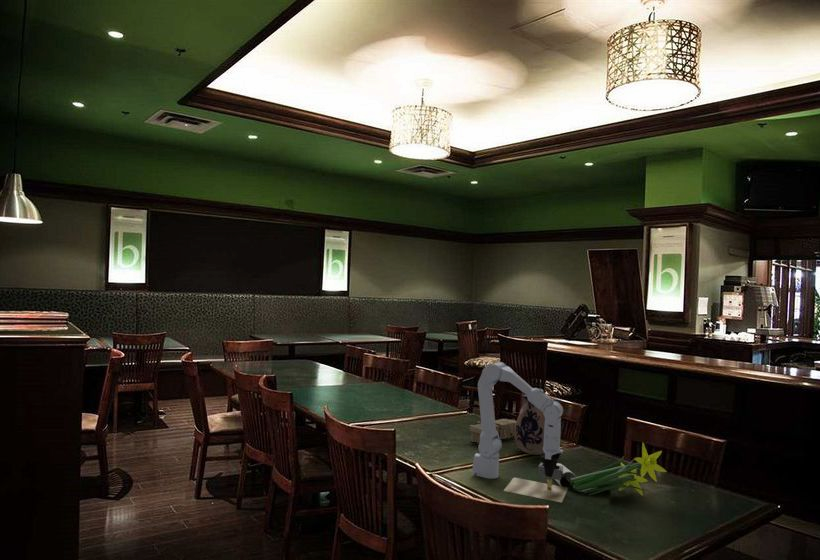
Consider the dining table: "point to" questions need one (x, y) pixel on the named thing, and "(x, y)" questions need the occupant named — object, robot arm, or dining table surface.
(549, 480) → the brass knob
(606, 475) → the daffodil flowers
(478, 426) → the tan block
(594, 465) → the dining table surface
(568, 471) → the mug
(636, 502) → the dining table surface
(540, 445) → the ceramic pitcher
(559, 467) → the dark grey open box
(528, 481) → the birch board
